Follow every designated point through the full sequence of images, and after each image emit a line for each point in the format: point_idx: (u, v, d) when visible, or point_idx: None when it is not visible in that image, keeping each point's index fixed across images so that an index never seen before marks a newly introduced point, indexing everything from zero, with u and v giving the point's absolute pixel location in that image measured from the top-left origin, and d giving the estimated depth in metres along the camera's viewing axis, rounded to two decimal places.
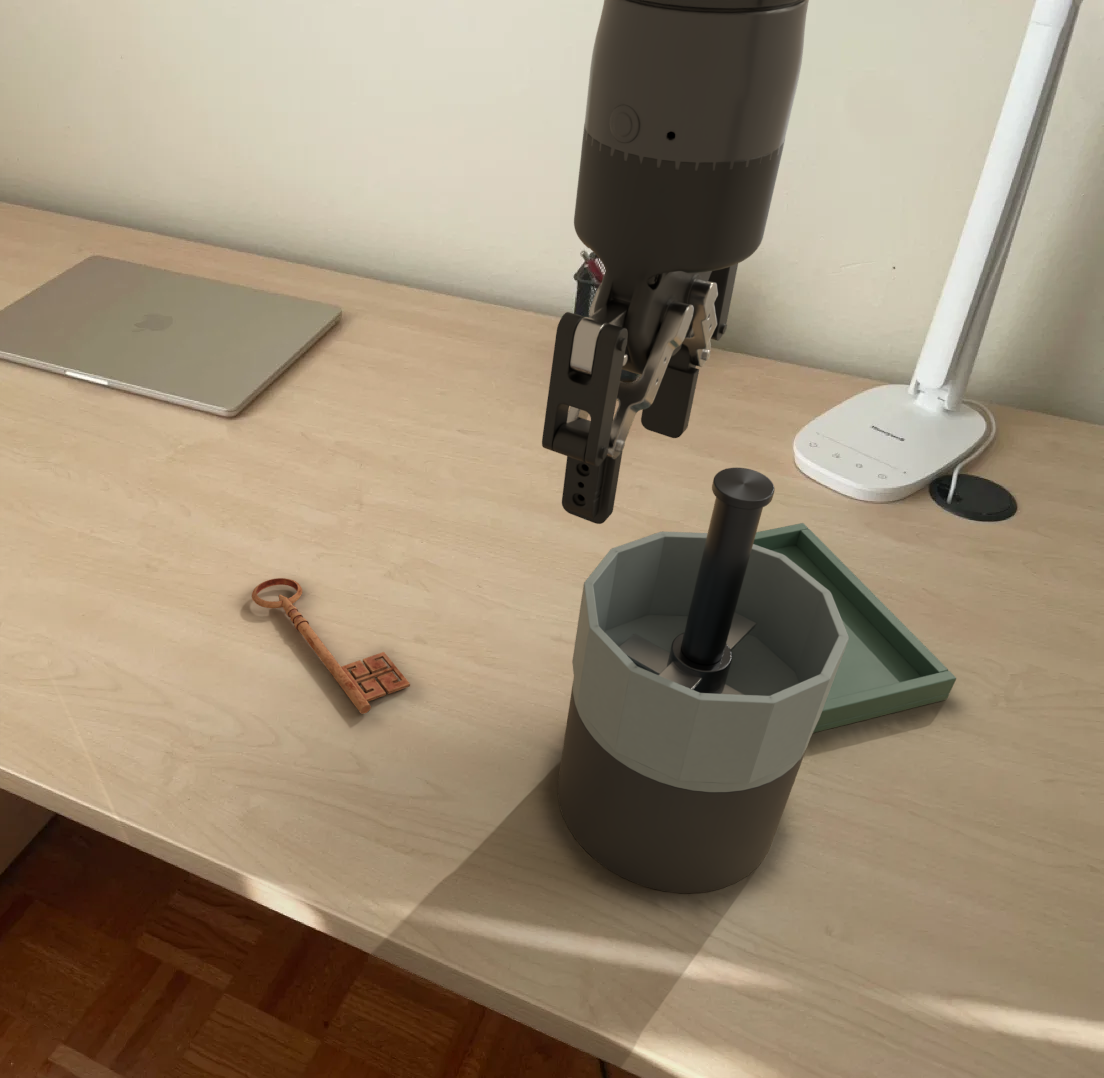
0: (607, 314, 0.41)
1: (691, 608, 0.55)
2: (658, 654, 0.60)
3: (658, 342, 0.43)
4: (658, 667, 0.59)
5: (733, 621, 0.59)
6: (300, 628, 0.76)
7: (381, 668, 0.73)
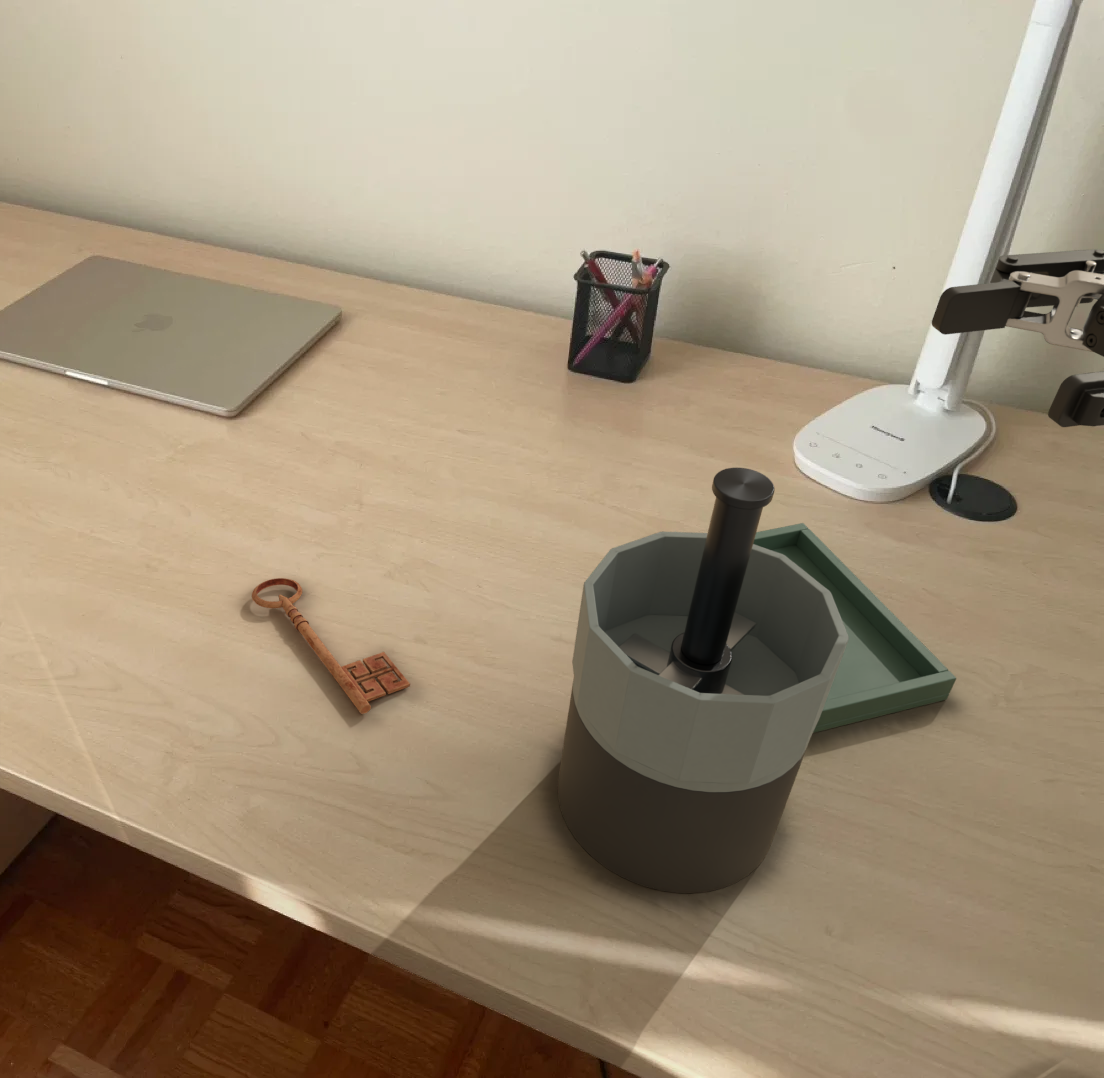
0: None
1: (691, 608, 0.55)
2: (658, 654, 0.60)
3: None
4: (658, 667, 0.59)
5: (733, 621, 0.59)
6: (300, 628, 0.76)
7: (381, 668, 0.73)
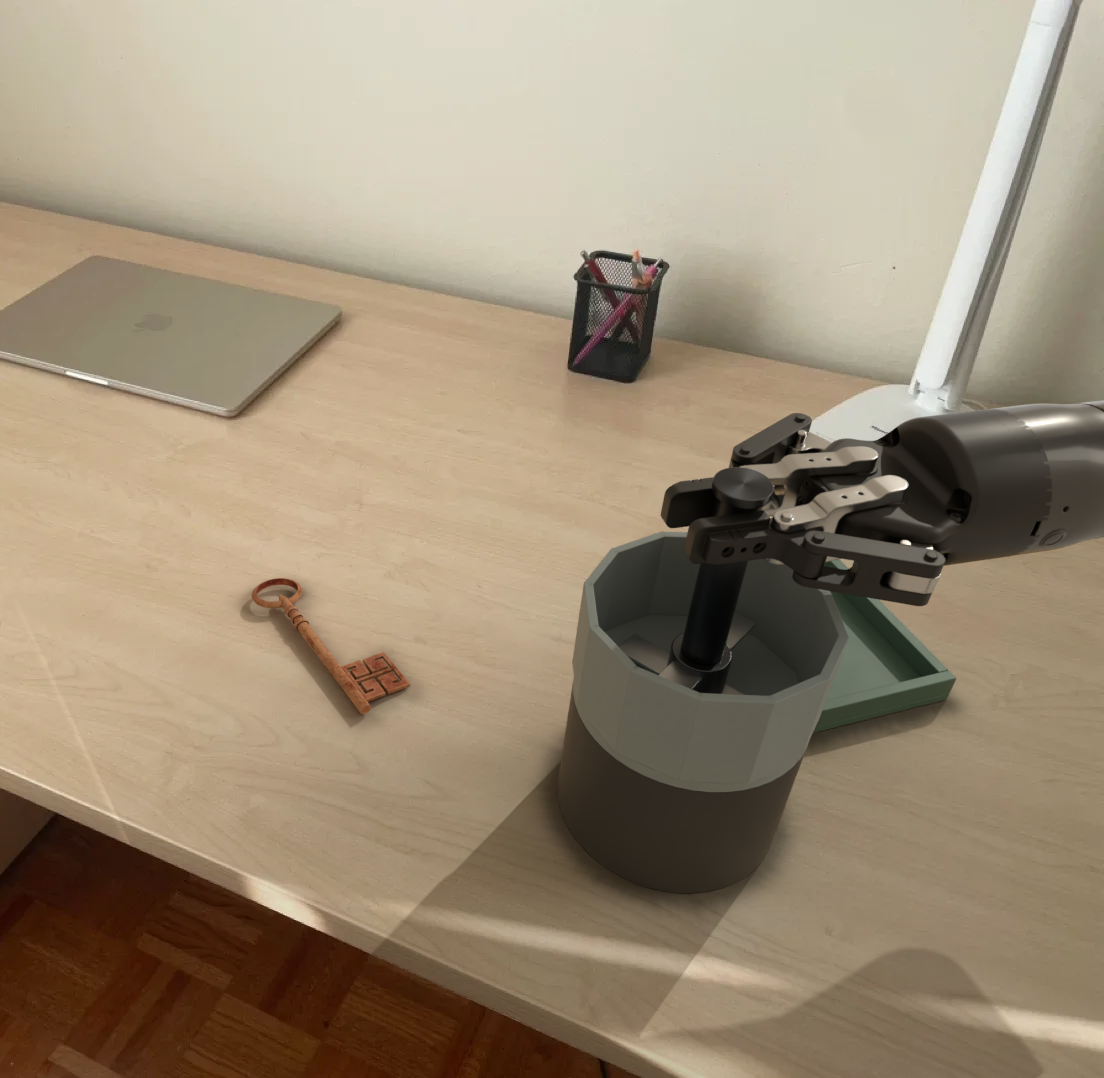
0: None
1: (691, 608, 0.55)
2: (658, 654, 0.60)
3: None
4: (658, 666, 0.59)
5: (733, 621, 0.59)
6: (300, 628, 0.76)
7: (381, 668, 0.73)
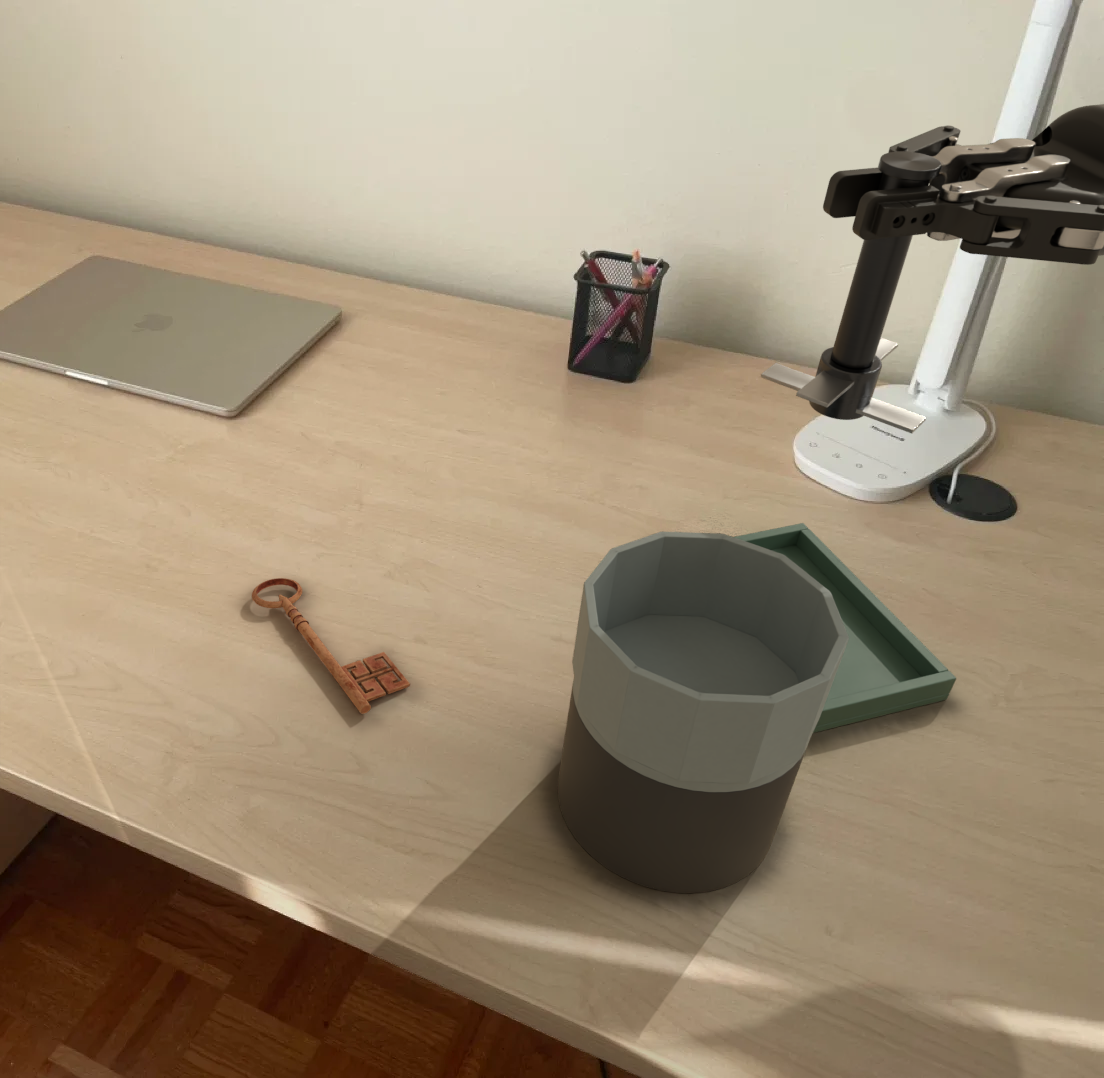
0: None
1: (846, 309, 0.57)
2: (803, 377, 0.62)
3: None
4: (804, 386, 0.61)
5: None
6: (300, 628, 0.76)
7: (381, 668, 0.73)
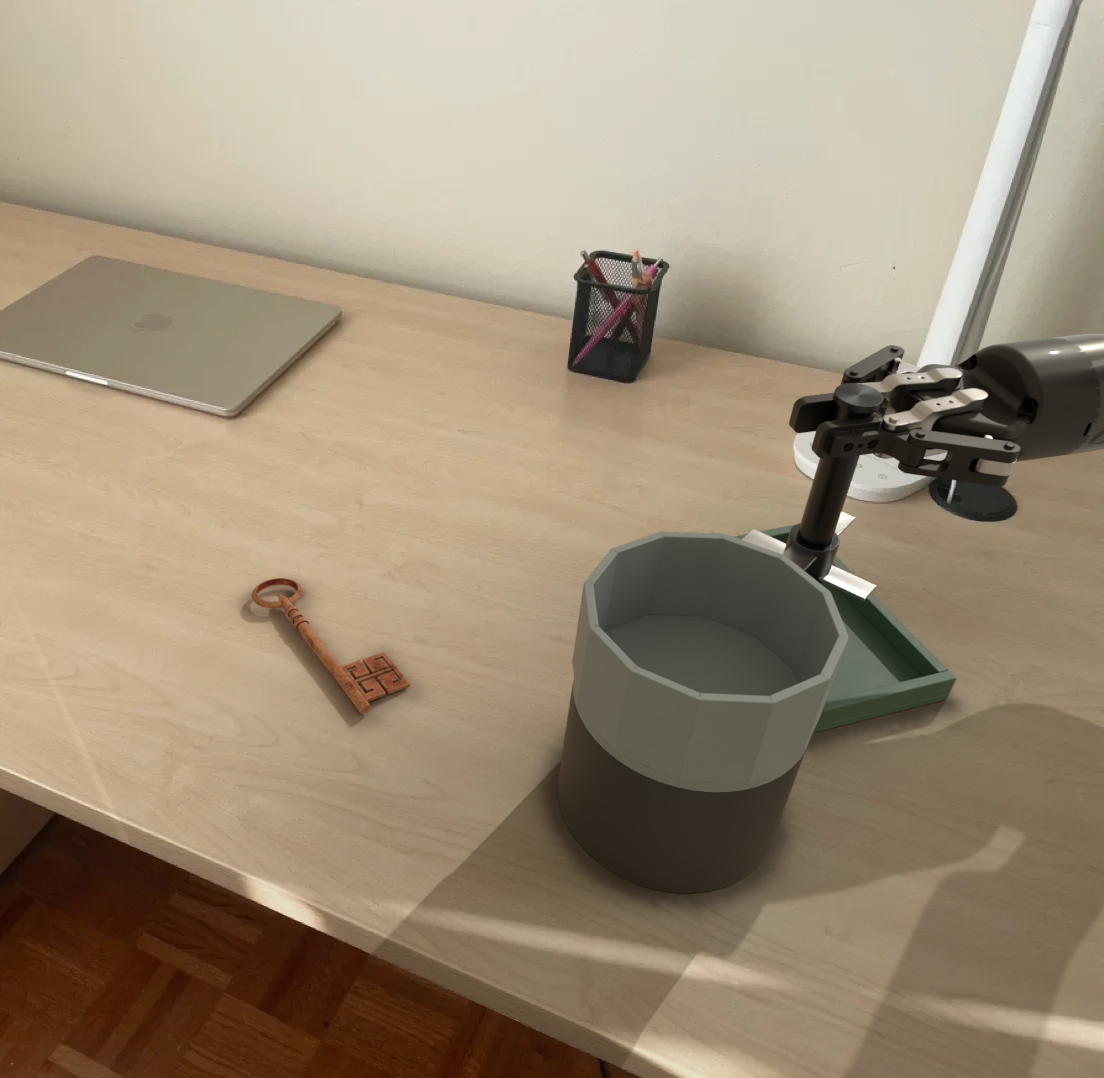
0: None
1: (809, 500, 0.69)
2: (775, 544, 0.74)
3: None
4: None
5: None
6: (300, 628, 0.76)
7: (381, 668, 0.73)
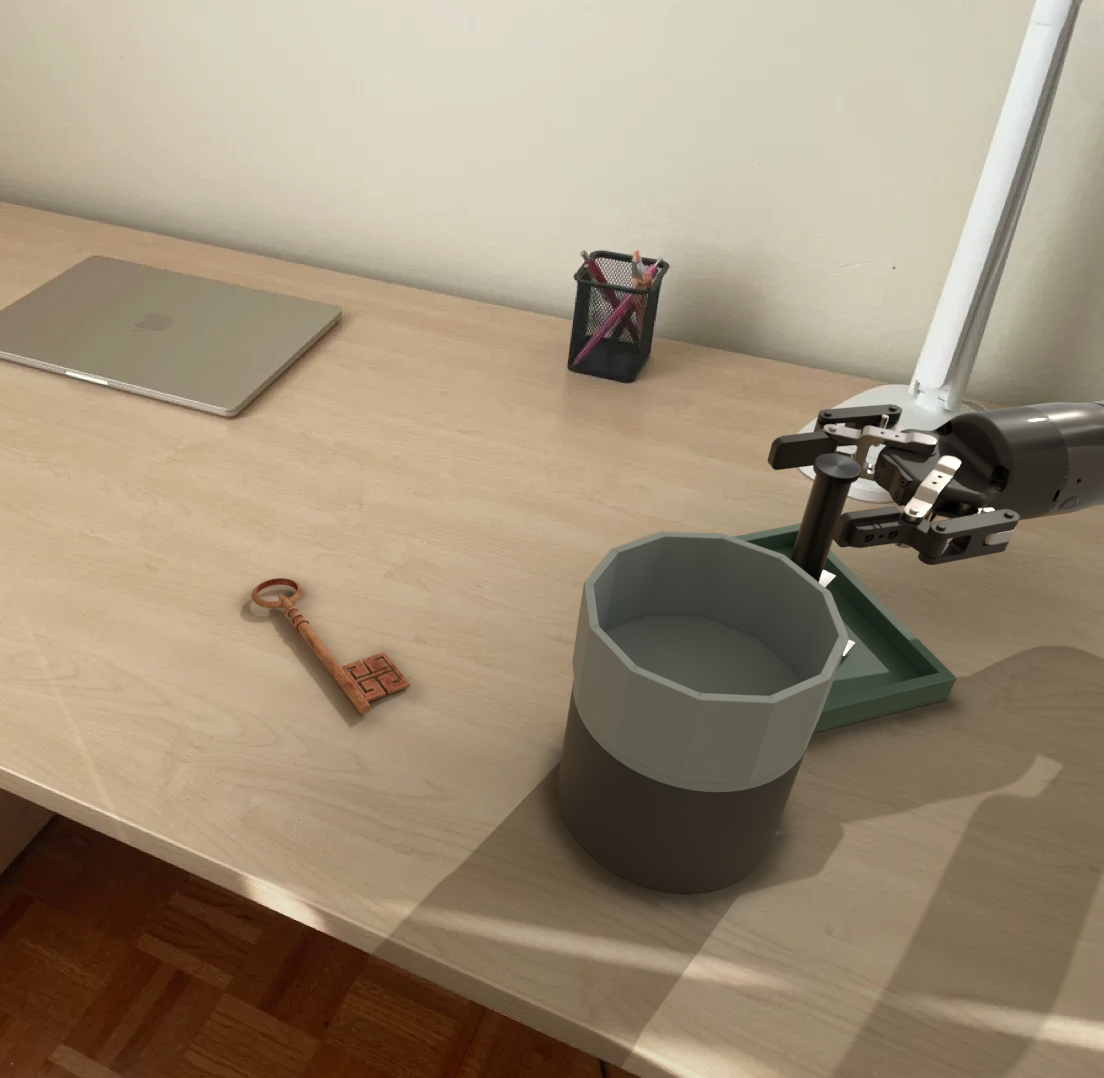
0: None
1: None
2: None
3: None
4: None
5: None
6: (300, 628, 0.76)
7: (381, 668, 0.73)
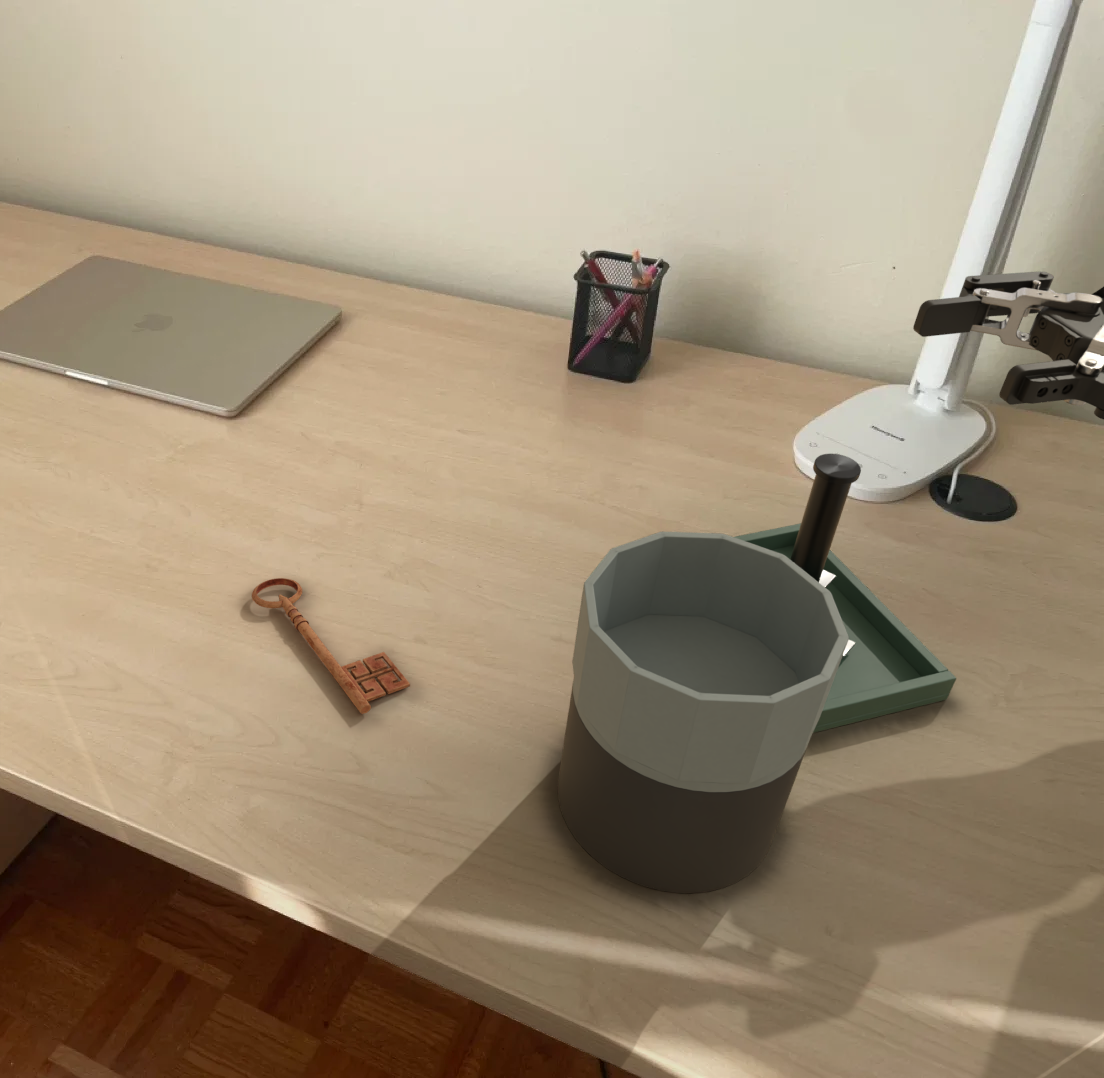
0: None
1: None
2: None
3: None
4: None
5: None
6: (300, 628, 0.76)
7: (381, 668, 0.73)
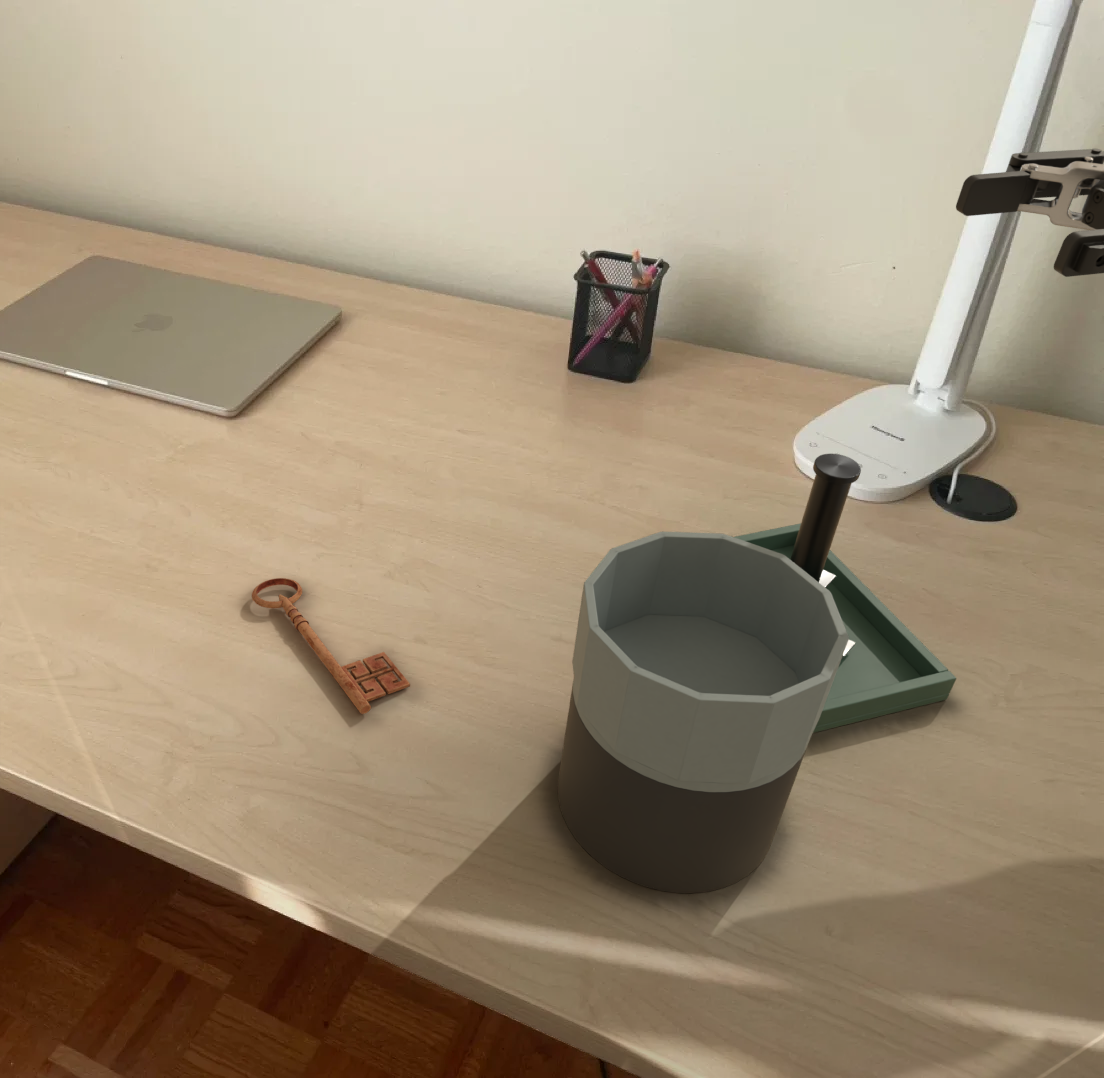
0: None
1: None
2: None
3: None
4: None
5: None
6: (300, 628, 0.76)
7: (381, 668, 0.73)
